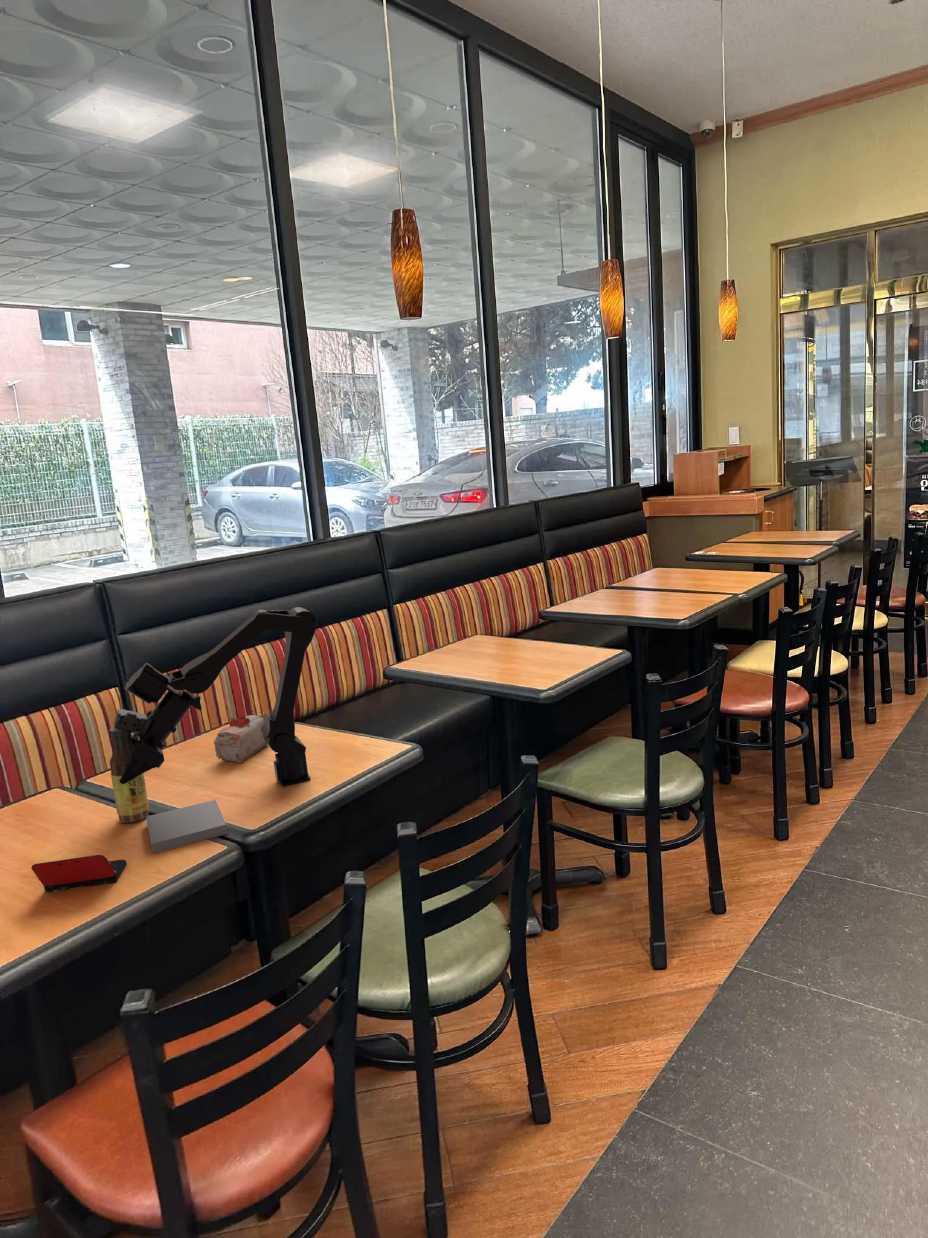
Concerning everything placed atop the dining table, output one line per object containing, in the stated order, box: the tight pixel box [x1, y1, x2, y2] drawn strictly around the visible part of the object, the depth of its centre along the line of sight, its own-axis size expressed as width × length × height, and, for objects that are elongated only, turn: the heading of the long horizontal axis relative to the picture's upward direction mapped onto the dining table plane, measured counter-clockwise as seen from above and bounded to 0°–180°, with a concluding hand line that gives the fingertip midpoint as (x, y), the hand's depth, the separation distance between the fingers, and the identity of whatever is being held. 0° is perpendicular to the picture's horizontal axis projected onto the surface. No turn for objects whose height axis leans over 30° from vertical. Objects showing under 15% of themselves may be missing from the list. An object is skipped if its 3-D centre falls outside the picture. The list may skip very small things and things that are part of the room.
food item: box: [213, 714, 269, 764], centre depth 207 cm, size 14×8×10 cm, turn 161°
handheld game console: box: [30, 854, 128, 893], centre depth 149 cm, size 12×11×7 cm
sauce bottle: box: [109, 727, 150, 824], centre depth 173 cm, size 7×6×20 cm
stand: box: [145, 799, 229, 854], centre depth 167 cm, size 14×14×2 cm
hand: (120, 776), depth 173 cm, fingers open, 8 cm apart
